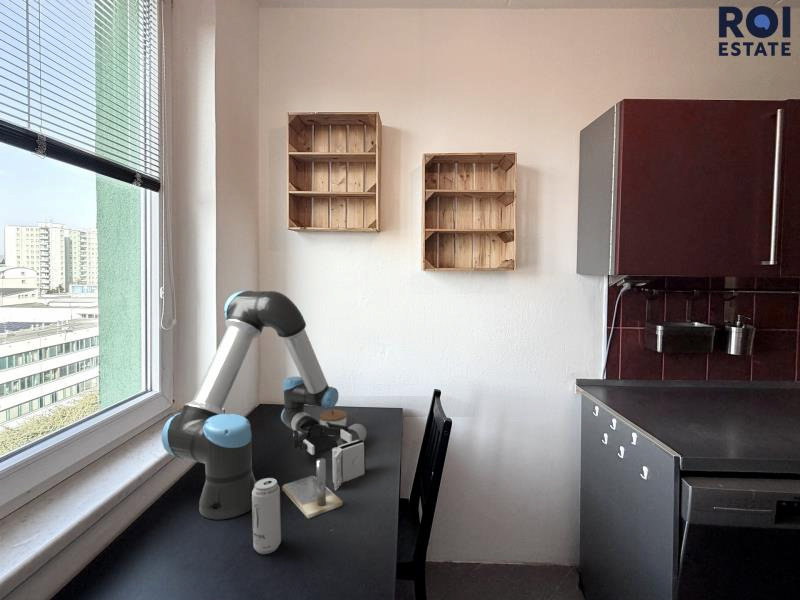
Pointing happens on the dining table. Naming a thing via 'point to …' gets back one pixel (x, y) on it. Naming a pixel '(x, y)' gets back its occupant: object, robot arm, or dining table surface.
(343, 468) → the hinge
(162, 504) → the dining table surface
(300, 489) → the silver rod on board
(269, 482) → the energy drink can
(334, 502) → the mounting board
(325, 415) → the lidded jar
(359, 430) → the ceramic mug
